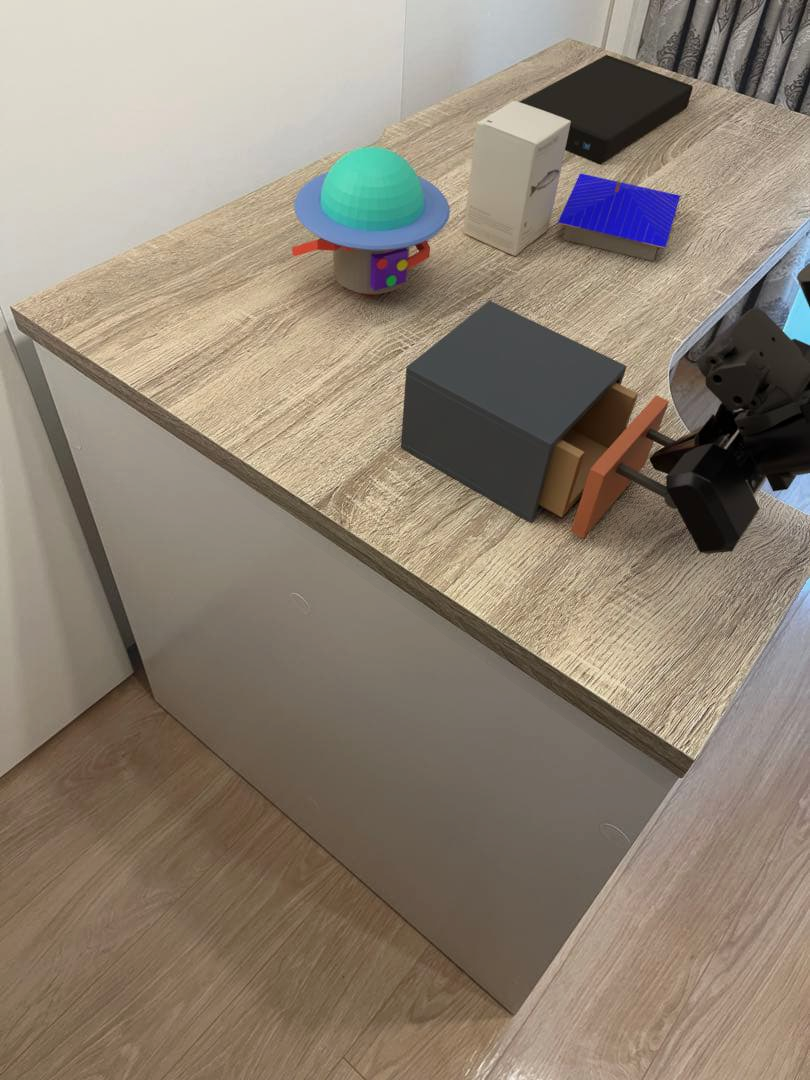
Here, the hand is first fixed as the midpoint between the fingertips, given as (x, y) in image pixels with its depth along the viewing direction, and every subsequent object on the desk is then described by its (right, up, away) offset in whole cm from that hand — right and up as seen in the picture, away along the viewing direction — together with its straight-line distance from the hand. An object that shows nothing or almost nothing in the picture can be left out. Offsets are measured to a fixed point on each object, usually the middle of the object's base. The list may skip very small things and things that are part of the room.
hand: (653, 461), depth 66 cm
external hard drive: (+8, +52, +52) cm, 74 cm away
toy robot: (-23, +20, +24) cm, 39 cm away
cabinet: (-10, +2, +10) cm, 14 cm away
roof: (+5, +30, +34) cm, 46 cm away
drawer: (-4, -1, +6) cm, 8 cm away
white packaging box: (-8, +29, +32) cm, 44 cm away
